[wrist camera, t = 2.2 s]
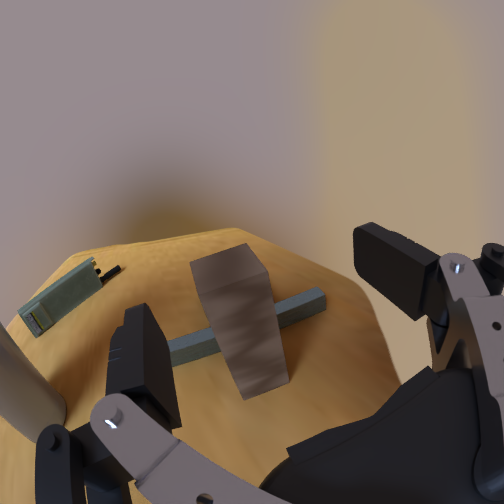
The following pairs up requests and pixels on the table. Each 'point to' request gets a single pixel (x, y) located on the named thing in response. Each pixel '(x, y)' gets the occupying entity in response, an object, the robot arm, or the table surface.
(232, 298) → the block
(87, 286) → the handheld radio
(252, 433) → the table surface
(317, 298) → the keeper
